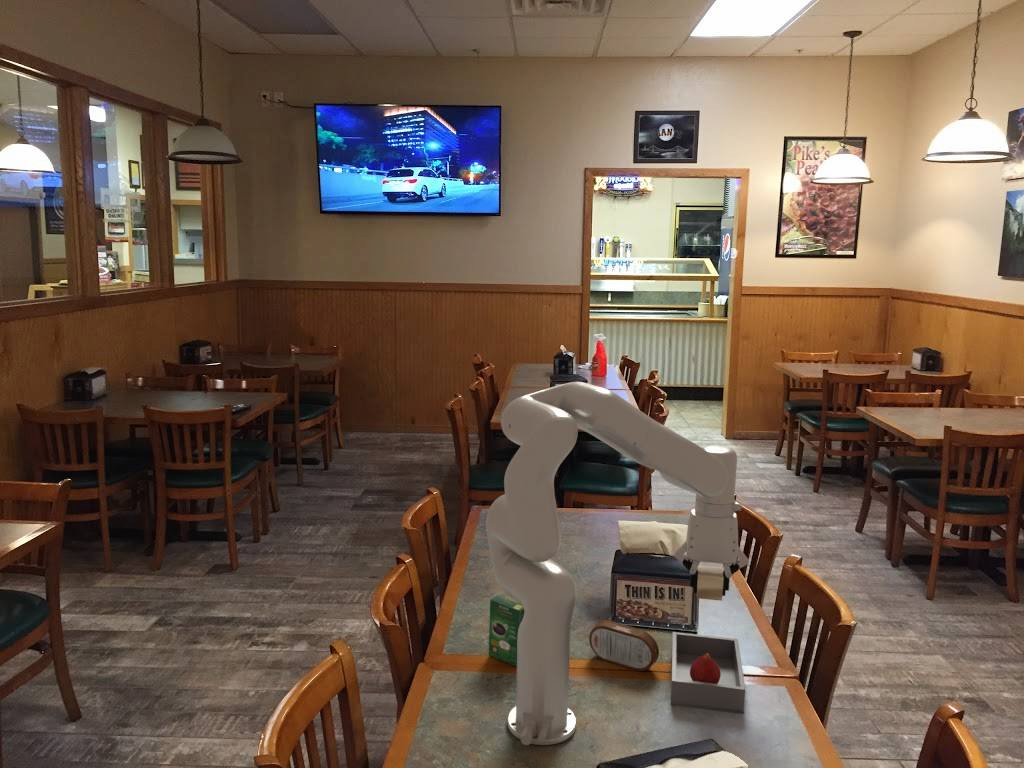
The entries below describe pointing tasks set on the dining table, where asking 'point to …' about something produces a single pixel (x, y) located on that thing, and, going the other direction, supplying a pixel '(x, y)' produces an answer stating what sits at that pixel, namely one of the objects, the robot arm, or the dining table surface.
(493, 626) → the coffee box
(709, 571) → the maple cube
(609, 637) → the tin
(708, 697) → the tote
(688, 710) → the dining table surface
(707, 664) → the onion
